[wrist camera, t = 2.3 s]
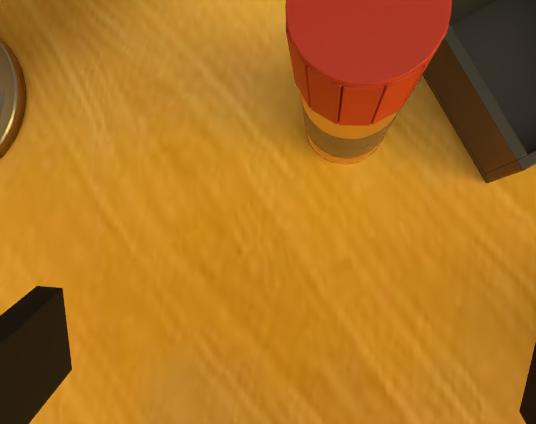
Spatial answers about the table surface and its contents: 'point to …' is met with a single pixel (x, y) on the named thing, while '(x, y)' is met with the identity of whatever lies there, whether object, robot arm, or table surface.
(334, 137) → the spray can
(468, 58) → the bin
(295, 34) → the cap
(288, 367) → the table surface
